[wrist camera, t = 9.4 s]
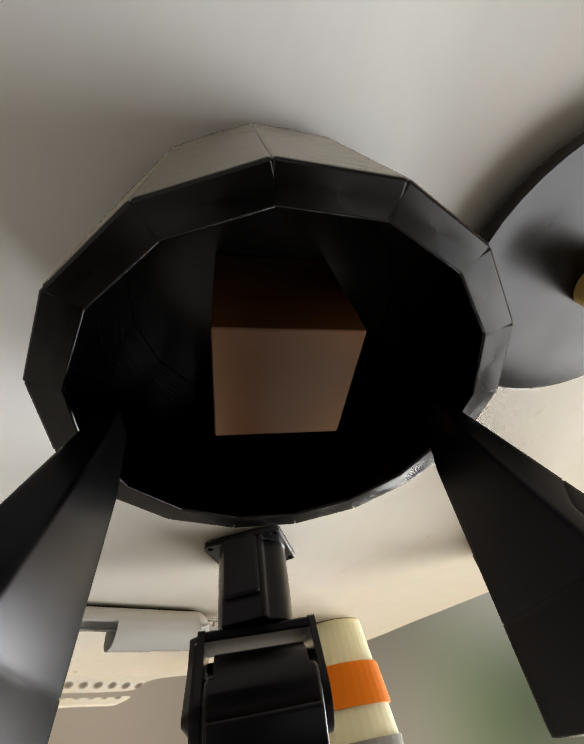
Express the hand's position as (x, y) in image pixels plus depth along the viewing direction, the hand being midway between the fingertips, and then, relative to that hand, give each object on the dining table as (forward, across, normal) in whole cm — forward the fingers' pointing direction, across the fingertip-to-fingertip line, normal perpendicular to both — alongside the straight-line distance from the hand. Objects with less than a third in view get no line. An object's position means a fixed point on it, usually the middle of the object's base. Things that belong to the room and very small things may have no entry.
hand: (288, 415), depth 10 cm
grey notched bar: (+7, +10, +38) cm, 39 cm away
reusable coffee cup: (+7, -14, +56) cm, 58 cm away
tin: (+7, 0, 0) cm, 7 cm away
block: (+6, 0, 0) cm, 6 cm away
